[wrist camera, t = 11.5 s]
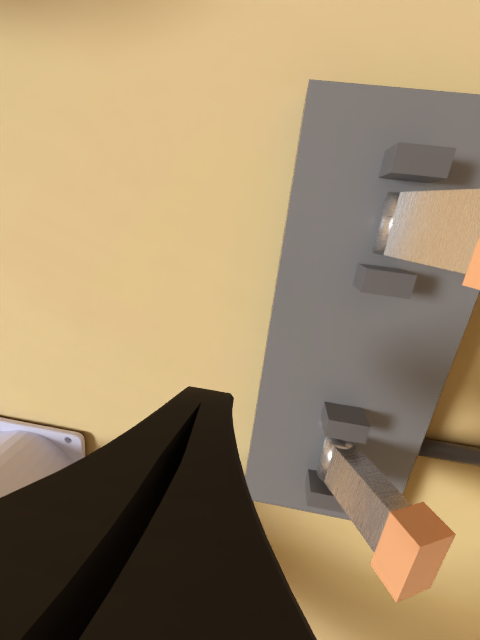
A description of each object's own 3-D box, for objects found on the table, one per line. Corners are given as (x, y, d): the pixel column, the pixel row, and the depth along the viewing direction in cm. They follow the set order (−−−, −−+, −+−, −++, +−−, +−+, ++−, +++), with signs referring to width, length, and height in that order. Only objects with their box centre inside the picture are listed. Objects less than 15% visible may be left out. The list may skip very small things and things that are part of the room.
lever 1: (359, 257, 14) (511, 298, 8) (377, 183, 13) (565, 168, 7) (393, 260, 14) (559, 301, 8) (413, 190, 13) (616, 180, 7)
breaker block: (245, 473, 21) (238, 522, 18) (305, 97, 14) (313, 60, 11) (487, 520, 20) (529, 582, 17) (687, 133, 13) (831, 103, 10)
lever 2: (307, 472, 17) (396, 602, 12) (318, 428, 16) (420, 547, 11) (334, 466, 18) (430, 588, 12) (346, 424, 17) (455, 534, 12)
